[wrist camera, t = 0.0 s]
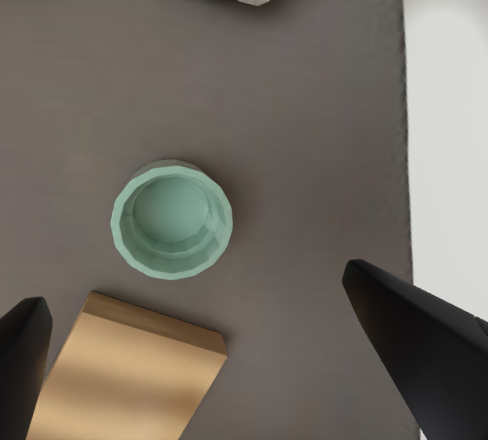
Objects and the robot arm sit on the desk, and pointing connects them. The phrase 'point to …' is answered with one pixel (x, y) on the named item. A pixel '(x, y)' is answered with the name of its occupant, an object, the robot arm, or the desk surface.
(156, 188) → the bowl
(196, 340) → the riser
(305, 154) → the desk surface
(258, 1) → the fossil replica
